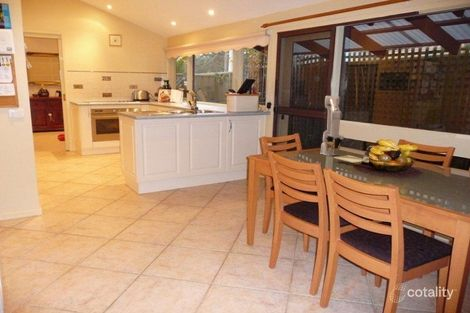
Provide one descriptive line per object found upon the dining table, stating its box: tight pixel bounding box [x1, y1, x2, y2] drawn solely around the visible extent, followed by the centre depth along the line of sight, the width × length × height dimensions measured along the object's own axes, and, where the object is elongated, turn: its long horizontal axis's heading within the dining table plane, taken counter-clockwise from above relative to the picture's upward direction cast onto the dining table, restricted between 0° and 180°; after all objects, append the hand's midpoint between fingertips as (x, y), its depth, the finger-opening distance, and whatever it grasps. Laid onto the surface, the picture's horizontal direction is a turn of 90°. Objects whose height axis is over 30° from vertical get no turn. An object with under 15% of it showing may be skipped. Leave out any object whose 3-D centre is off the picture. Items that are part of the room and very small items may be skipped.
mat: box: [333, 155, 363, 164], centre depth 249 cm, size 18×16×1 cm
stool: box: [326, 141, 341, 152], centre depth 244 cm, size 8×5×6 cm, turn 123°
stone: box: [360, 145, 376, 164], centre depth 235 cm, size 14×10×15 cm
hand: (333, 148), depth 244 cm, fingers closed on stool, 5 cm apart
